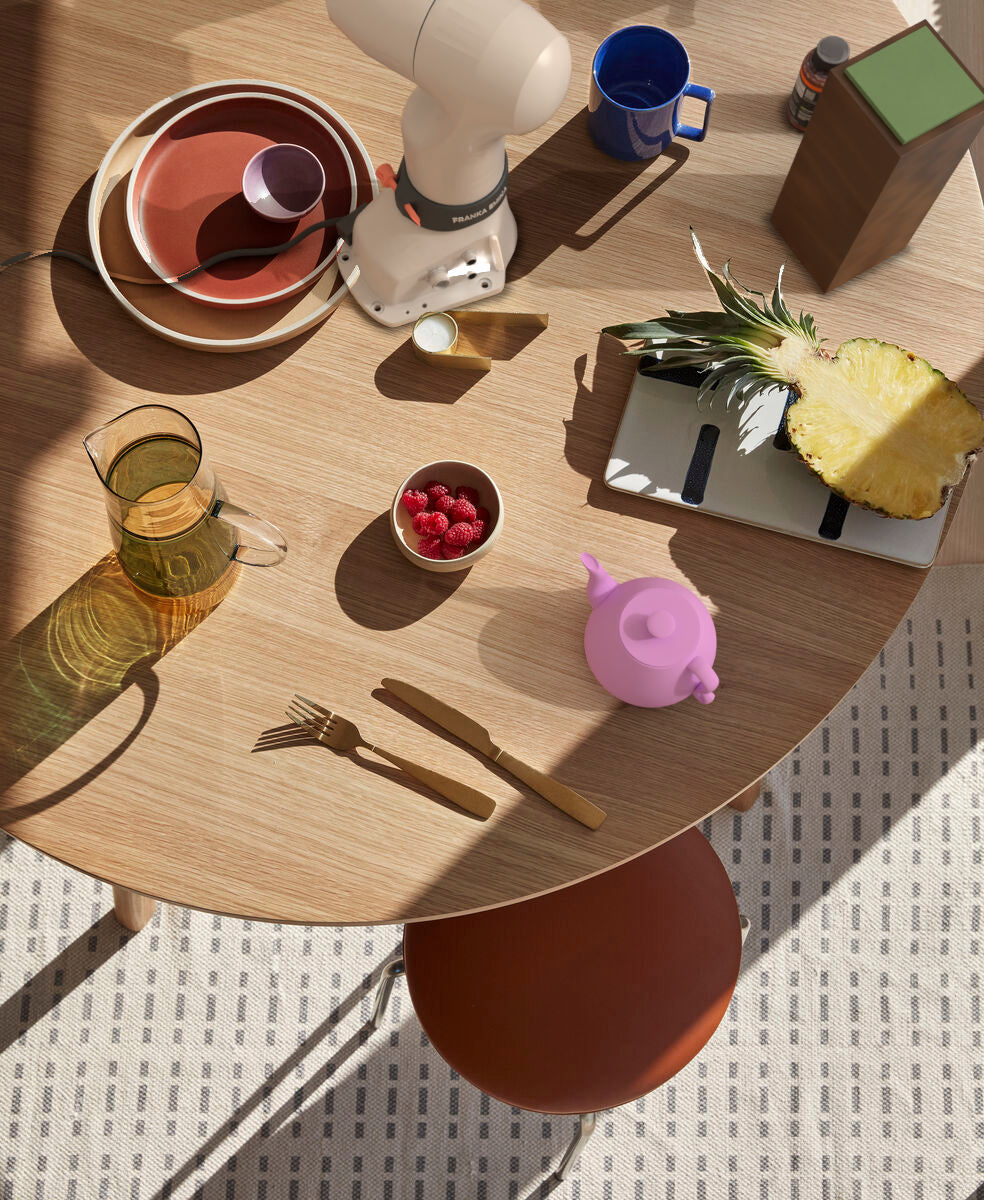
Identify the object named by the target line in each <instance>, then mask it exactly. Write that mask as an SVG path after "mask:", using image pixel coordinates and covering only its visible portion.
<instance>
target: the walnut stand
mask: <svg viewBox="0 0 984 1200" xmlns="http://www.w3.org/2000/svg"><path fill="white" fill-rule="evenodd" d="M924 26H927V28H928V29H929V30H930V31H931V32H932V34H933V35H934V36H935V37H936V38H937V40H938V41H939V42H940V43H941V44H942V46H943V47H944V48H945V49H946V50H947V52H948V53H949V54H950V55H951V56H952V57H953V59H954V60H955V61H956V62H957V63H958V65H959V66H960V67H961V68H962V69H963V71H964V72H965V73H966V74H967V75H968V77H969V78H970V79H971V80H972V81H973V82H974V84H975V85H976V86H977V87H978V88H979V90H980V91H981V92H982V93H983V94H984V86H983V85H982V84H981V83H980V82H979V80H978V79H977V78H976V76H974V74H973V73H972V72H971V71H970V69H969V68H968V67H967V66H966V65H965V64H964V63H963V61H962V60H961V59H960V57H959V56H958V55H957V54H956V53H955V52H954V50H953V49H952V48H951V47H950V46H949V45H948V44H947V42H946V41H945V40H944V38H942V36H941V35H940V34H939V33H938V32H937V30H936V29H935V28H934V26H933V25H932V24H931V23H930V22H929V21H928V19H927V18H924V19H922V20H921V21H919V22H917V23H915V24H913V25H911V26H909V27H907V28H906V29H903V30H902V31H900V32H898V33H895V34H894V35H892V36H891V37H888V38H887V39H885V40H883V41H881V42H879V43H877V44H876V45H874V46H872V47H870V48H868V49H866V50H865V51H863V52H860V53H859V54H857V55H855V56H853V57H851V58H849V60H848V61H846V62H844V63H842V64H840V65H838V66H836V67H834V68H833V69H831V70H830V71H829V74H828V76H827V79H826V81H825V84H824V86H823V89H822V91H821V94H820V96H819V98H818V101H817V103H816V106H815V108H814V111H813V113H812V116H811V118H810V121H809V123H808V126H807V128H806V130H805V131H804V132H803V136H802V137H801V140H800V143H799V145H798V148H797V150H796V153H795V154H794V157H793V160H792V163H791V165H790V167H789V170H788V172H787V175H786V177H785V180H784V182H783V185H782V187H781V190H780V192H779V194H778V197H777V200H776V202H775V205H774V207H773V209H772V212H771V214H770V217H769V219H768V220H769V222H770V223H771V224H772V226H773V227H774V229H775V230H776V231H777V233H778V234H779V235H780V236H781V239H783V240H784V242H785V243H786V244H787V246H788V247H789V249H790V250H791V251H792V252H793V254H794V255H795V256H796V257H797V259H798V261H800V264H801V265H802V266H803V267H804V268H805V269H806V271H807V272H808V274H809V275H810V276H811V277H812V279H813V280H814V281H815V283H816V284H817V285H818V287H819V289H821V291H822V292H823V294H824V295H826V294H828V293H829V292H831V291H833V290H836V289H837V288H838V287H840V286H842V285H844V284H845V283H847V282H849V281H851V280H853V279H854V278H856V277H858V276H860V275H861V274H863V273H865V272H867V271H869V270H870V269H872V268H874V267H875V266H877V265H879V264H881V263H884V261H886V260H888V259H890V258H892V257H893V256H895V255H897V254H899V253H900V252H902V251H904V250H905V249H906V248H907V246H908V245H909V243H910V241H912V239H913V237H914V236H915V234H916V232H917V231H918V229H919V227H920V226H921V224H922V223H923V222H924V219H925V218H926V216H927V215H928V213H929V212H930V210H931V209H932V207H933V206H934V204H935V202H936V200H937V199H938V198H939V196H940V195H941V193H942V191H944V188H945V187H946V186H947V184H948V182H949V180H950V179H951V177H952V176H953V174H954V173H955V171H956V170H957V168H958V166H959V165H960V163H961V161H962V160H963V159H964V157H965V155H966V154H967V152H968V150H969V149H970V148H971V146H972V144H973V143H974V141H975V140H976V138H977V137H978V135H979V133H980V132H981V130H982V129H983V127H984V100H983V101H982V102H980V103H978V104H976V105H975V106H973V107H971V108H969V109H967V110H965V111H964V112H962V113H960V114H958V115H956V116H955V117H953V118H951V119H949V120H947V121H946V122H944V123H942V124H940V125H938V126H936V127H935V128H933V129H931V130H929V131H927V132H926V133H924V134H922V135H920V136H918V137H916V138H915V139H913V140H911V141H909V142H907V143H906V144H904V145H902V144H901V142H900V141H899V140H898V139H897V137H896V136H895V135H894V134H893V132H892V131H891V130H890V129H889V127H888V126H887V125H886V124H885V122H884V121H883V120H882V119H881V117H880V116H879V115H878V114H877V112H876V111H875V110H874V109H873V108H872V106H871V105H870V104H869V103H868V101H867V100H866V99H865V98H864V96H863V95H862V94H861V93H860V91H859V90H858V89H857V88H856V86H855V85H854V84H853V83H852V81H851V80H850V79H849V78H848V77H847V75H846V74H845V73H844V72H845V69H846V68H848V67H849V66H851V65H853V64H855V63H857V62H859V61H861V60H863V59H864V58H866V57H868V56H870V55H872V54H874V53H876V52H877V51H879V50H881V49H883V48H885V47H887V46H889V45H890V44H892V43H894V42H896V41H898V40H900V39H902V38H904V37H905V36H907V35H909V34H911V33H913V32H915V31H917V30H918V29H920V28H922V27H924Z"/></svg>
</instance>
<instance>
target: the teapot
mask: <svg viewBox="0 0 984 1200" xmlns="http://www.w3.org/2000/svg"><path fill="white" fill-rule="evenodd" d="M579 556H580V557H579V558H580V561H581V563H582V565H583V566H584V567H585V569H586V570H587V572H588V580H587V582H586V583H587V584H586V588H585V594H586V598H587V599H588V602H589V604H590V605H591V607H592V611H591V613H590V615H589V617H588V619H587V623H586V625H585V630H584V637H583V639H584V640H583V646H584V653H585V658H586V661H587V664H588V666H589V669H590V670H591V673H592V674H593V676H594V678H595V679H596V680H597V682H598V683H599V684H600V686H602V687H603V688H604V689H605V690H606V691H607V692H608V693H609V694H611V695H612V696H613V697H615V698H617V699H618V700H619V701H622V702H624V703H627V704H629V705H631V706H636V707H640V708H648V709H649V708H651V709H655V708H656V709H657V708H664V707H668V706H673V705H675V704H678V703H680V702H682V701H683V700H685V699H686V698H688V697H689V696H691V695H693V697H694V698H695V699H696V701H698V702H699V703H700V704H702V705H708V704H710V703H712V702H713V701H714V699H715V697H716V695H715V694H714V691H715V690H716V689H717V688H718V687H719V684H720V679H719V676H718V675H717V673H716V672H715V669H713V665H714V662H715V659H716V654H717V633H716V632H717V631H716V628H715V623H714V620H713V618H712V616H711V614H710V612H709V610H708V608H707V606H706V605H705V604H704V603H703V601H702V600H701V599H700V597H698V596H697V594H695V593H694V592H693V591H691V589H689V588H688V587H686V586H685V585H682V584H681V583H679V582H677V581H675V580H671V579H668V578H664V577H659V576H658V577H657V576H644V577H643V576H642V577H638V578H633V579H630V580H627V581H625V582H622V583H619V582H618V581H617V580H616V579H615V578H613V577H612V576H611V574H609V573H608V572H607V571H606V569H605V568H604V567H603V565H602V564H601V563H600V561H599V560H598V559H597V558H596V557H595V556H594V555H592V554H591V553H588V552H585V551H582V552H581V553H580V555H579Z"/></svg>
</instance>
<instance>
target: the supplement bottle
mask: <svg viewBox="0 0 984 1200" xmlns="http://www.w3.org/2000/svg"><path fill="white" fill-rule="evenodd" d="M850 55H851V47H850V45H849V43H848V41H847V40H845V39H844V38H843V37H841V36H837V35H828V36H825V37H823V38H821V39H820V40H819V41H818V43H817V44H816V46H815V47H814V48H812V49H811V50H809V51H808V53H806V55H805V56H804V58H803V61H802V63H801V66H800V69H799V71H798V74H797V77H796V80H795V82H794V85H793V88H792V91H791V93H790V97H789V99H788V103H787V106H786V116H787V119H788V121H789V123H791V125H792V126H793V127H795V128H796V129H798V130H799V131H802V132H805V130H806V128H807V126H808V123H809V121H810V118H811V116H812V113H813V111H814V108H815V106H816V103H817V101H818V98H819V96H820V94H821V91H822V89H823V86H824V84H825V81H826V79H827V76H828V74H829V71H830V70H831V69H833V68H834V67H836V66H838V65H840V64H842V63H844V62H846V61H848V60H849V59H850Z"/></svg>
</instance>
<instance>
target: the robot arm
mask: <svg viewBox="0 0 984 1200" xmlns="http://www.w3.org/2000/svg"><path fill="white" fill-rule="evenodd" d="M325 7H326V12H327V15H328V17H329V20H330V22H331V23H332V24H333V25H334V27H336V28H337V29H338V30H339V32H341V33H342V34H343V35H344V36H345V37H346V38H347V39H348V40H349V41H350V42H351V43H352V44H353V45H355V47H356V48H358V49H359V50H360V52H362V53H363V54H364V55H366V56H367V57H369V58H370V59H372V60H374V61H376V62H377V63H379V64H380V65H382V66H384V67H386V68H387V69H389V70H391V71H392V72H394V73H396V74H398V75H399V76H401V77H403V78H404V79H406V80H408V81H409V82H411V83H413V84H414V85H416V87H415V88H414V89H413V90H412V92H410V94H409V96H408V97H407V100H406V102H405V103H404V105H403V109H402V112H401V117H400V132H401V138H402V139H401V140H402V146H403V147H402V148H403V155H402V158H401V160H400V163H399V166H398V169H397V172H396V173H395V171H394V168H393V167H392V165H391V164H390V163H388V162H384V163H382V164H380V165H379V166H378V167H377V168H376V170H375V173H374V175H375V176H376V178H377V179H378V180H379V181H380V182H381V185H382V187H383V189H381V191H380V192H379V193H378V194H377V195H376V196H375V197H374V198H373V199H372V200H371V201H370V203H368V204H367V203H366V202H363V203H362V204H361V205H359V206H358V207H357V208H354V209H353V210H352V211H350V213H348V214H347V215H344V216H339V217H332V218H329V219H325V220H322V221H321V220H320V221H319V222H316V223H313V224H311V225H310V226H308V227H306V228H304V229H303V230H302V231H301V232H300V233H298V234H297V235H296V236H294V237H293V238H292V239H290V240H289V241H287V242H285V243H283V244H280V245H276V246H272V247H265V248H262V247H261V248H239V249H233V250H228V251H224V252H221V253H218V254H216V255H214V256H212V257H210V258H208V259H206V260H204V261H202V262H201V263H199V264H198V265H196V266H194V267H192V268H191V269H189V270H186V271H185V272H182V273H179V274H177V275H176V276H180V275H182V274H185V273H187V272H189V271H191V270H192V269H194V268H196V267H198V266H199V265H201V264H203V263H204V262H206V261H208V260H210V261H208V262H206V263H205V264H203V265H202V266H200V267H198V268H197V269H195V270H193V271H191V272H190V273H188V274H185V275H183V276H181V277H178V278H177V279H178V281H181V282H184V281H185V280H186V281H187V280H188V279H190V278H193V277H194V276H196V275H198V274H199V273H201V272H203V271H205V270H206V269H208V268H210V267H212V266H213V265H215V264H217V263H220V262H222V261H226V260H228V259H232V258H237V257H238V258H239V257H248V256H249V257H251V256H252V257H253V256H270V255H276V254H280V253H283V252H286V251H289V250H290V249H292V248H294V247H296V246H298V245H299V244H300V243H301V242H302V241H304V240H305V239H307V238H308V237H309V236H310V235H312V234H314V233H315V232H317V231H320V230H322V229H325V228H329V227H332V226H335V227H336V230H337V235H338V236H339V238H340V237H341V238H342V239H343V240H344V241H345V242H344V244H343V245H342V248H341V250H340V253H339V254H338V256H337V255H336V262H337V266H338V269H339V273H340V275H341V277H342V279H343V281H344V284H346V281H347V279H348V277H349V276H350V275H351V272H352V271H353V269H354V267H355V266H356V265H358V267H359V270H360V275H359V277H358V279H357V281H356V283H355V284H354V285H353V287H352V288H351V289H348V291H349V292H350V293H351V295H352V297H353V298H354V299H355V301H356V302H357V304H358V305H359V306H360V307H361V308H362V310H364V312H365V313H366V314H368V316H370V318H372V319H374V320H375V321H376V322H378V323H379V324H382V325H383V326H385V327H389V328H397V327H400V326H403V325H407V324H410V323H414V322H416V321H419V320H420V319H419V317H420V316H421V315H423V314H424V313H425V312H430V311H431V312H435V311H439V312H441V313H443V312H447V311H450V310H453V309H455V308H459V307H463V306H465V305H469V304H471V303H474V302H478V301H481V300H484V299H486V298H487V299H488V298H490V297H493V296H496V295H498V294H501V292H502V291H503V290H504V288H505V285H506V271H507V267H508V264H509V263H510V261H511V259H512V257H513V255H514V253H515V251H516V246H517V242H518V226H517V222H516V219H515V216H514V214H513V212H512V210H511V208H510V205H509V201H508V196H507V193H508V190H509V179H510V178H509V175H510V174H509V172H510V171H509V158H508V153H507V150H506V139H507V138H506V137H507V136H518V137H519V136H525V135H528V134H531V133H533V132H535V131H537V130H538V129H540V128H542V127H543V126H544V125H545V124H547V123H548V122H549V121H550V120H551V119H552V118H554V117H555V114H557V112H558V111H559V110H560V109H561V107H562V105H563V103H564V101H565V100H566V97H567V95H568V92H569V89H570V85H571V82H572V75H573V57H572V51H571V46H570V42H569V40H568V38H567V37H566V36H565V35H564V34H563V33H562V32H561V31H560V30H559V29H558V28H556V27H555V25H553V23H551V22H550V21H549V20H548V19H547V18H546V17H545V16H543V15H542V13H540V12H539V11H538V10H537V9H535V8H534V7H533V6H531V5H530V4H529V3H527V2H525V1H524V0H325ZM339 238H338V239H337V240H336V243H337V242H338V241H339ZM45 249H46V250H61V251H66V252H69V253H72V254H75V255H77V256H79V257H80V258H82V259H84V260H86V261H87V262H89V263H91V264H92V265H93V266H92V265H90V264H88V263H86V262H85V261H83V260H81V259H80V258H78V257H76V256H74V255H71V254H68V253H65V252H59V251H52V252H48V253H44V254H41V255H38V256H35V257H32V258H30V259H29V260H31V259H35V258H36V259H37V258H42V257H64V258H68V259H70V260H73V261H75V262H77V263H79V264H81V265H83V266H84V267H86V268H87V269H89V270H91V271H93V272H95V273H96V274H99V272H98V270H97V268H95V267H94V266H95V264H96V263H94V262H92V261H91V260H89V259H87V258H85V257H83V255H81V254H78V253H76V252H74V251H71V250H66V249H62V248H61V249H59V248H45ZM31 251H32V252H33V251H34V250H31ZM31 251H26V252H23V253H20V254H18V255H17V254H16V255H15V256H13V257H10V258H8V259H6V260H4V261H3V262H1V263H0V265H1V266H2V267H3V266H8V265H9V264H13V263H15V262H18V261H19V260H22V259H25V258H26V257H29V256H30V255H33V254H34V253H33V254H31V253H32V252H31ZM211 259H212V260H211ZM345 259H347V260H345ZM6 270H7V269H5V270H4V271H6ZM4 271H2V272H0V274H2V273H3V272H4ZM154 284H155V283H154ZM157 284H158V283H157ZM161 286H164V285H163V284H162V285H161ZM483 286H487V287H483ZM376 309H380V310H377V311H376ZM418 319H419V320H418Z"/></svg>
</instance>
